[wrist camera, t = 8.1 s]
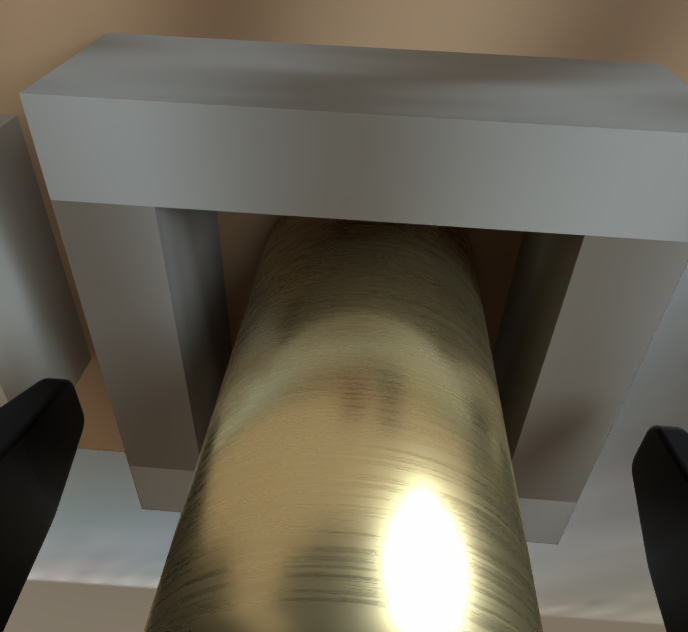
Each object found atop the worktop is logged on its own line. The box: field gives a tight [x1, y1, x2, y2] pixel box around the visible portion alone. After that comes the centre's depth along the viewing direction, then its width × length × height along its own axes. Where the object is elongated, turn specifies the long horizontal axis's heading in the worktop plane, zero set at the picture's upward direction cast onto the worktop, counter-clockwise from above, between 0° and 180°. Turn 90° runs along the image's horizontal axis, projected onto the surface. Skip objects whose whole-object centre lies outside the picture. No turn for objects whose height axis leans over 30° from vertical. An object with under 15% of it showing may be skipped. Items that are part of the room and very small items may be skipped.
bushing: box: [144, 215, 543, 632], centre depth 10 cm, size 4×4×8 cm
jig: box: [0, 0, 688, 544], centre depth 12 cm, size 18×13×4 cm
